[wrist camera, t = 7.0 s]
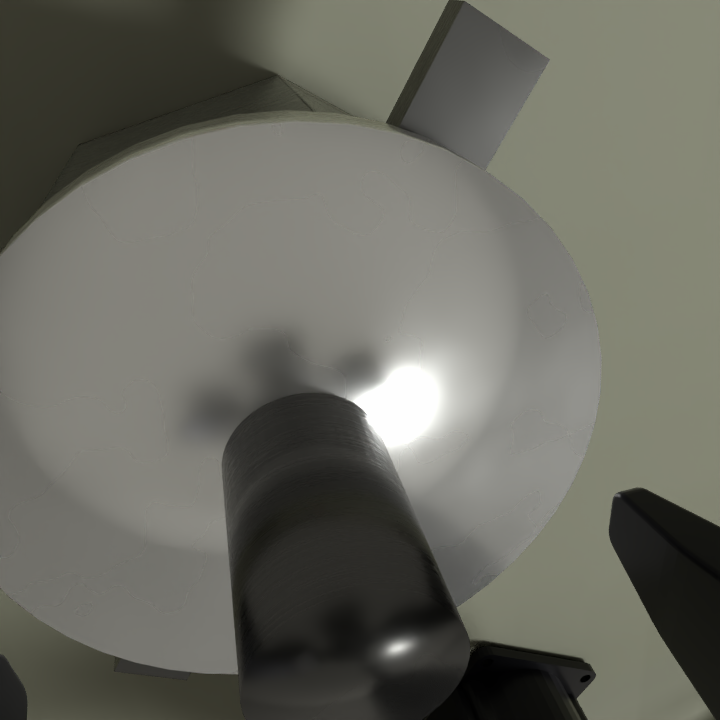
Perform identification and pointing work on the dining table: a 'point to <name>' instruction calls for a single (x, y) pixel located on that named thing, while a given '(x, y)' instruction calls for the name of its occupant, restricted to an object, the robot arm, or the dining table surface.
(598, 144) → the dining table surface
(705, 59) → the dining table surface
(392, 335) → the lid
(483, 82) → the pot
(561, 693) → the robot arm
